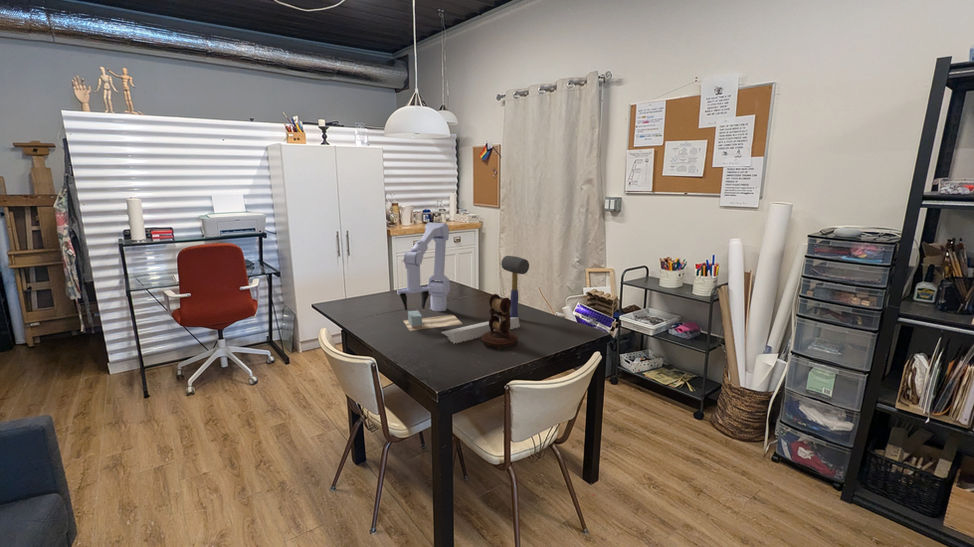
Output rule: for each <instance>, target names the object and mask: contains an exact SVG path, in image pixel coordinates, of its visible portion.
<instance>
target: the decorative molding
mask: <svg viewBox="0 0 974 547" xmlns="http://www.w3.org/2000/svg"><path fill="white" fill-rule="evenodd" d="M499 320H500V318H499ZM520 326H521V325H520V320H519V316H518V317H511V318H510V329H511V330H514V328H515V329H519V328H520ZM518 327H519V328H518ZM494 330H495V329H494ZM494 330H493V331H494ZM489 331H491V330H490V327H489V320H488V321H484V322H478V323H475V324H470V325H467V326H466V325H465V326H462V327H458V328H453V329H448V330H444V331H441V334H443V335H444V336H446V337H444V339H445V338H446V340H449V341H450V342H451V343H452V342H453V343H452V344H454V345H455V343H456V344H459V343H463V341H464V342H468V341H471V340H475V339H477V338H478V337H479V338H481V336H482V335H483V334H485V333H486V332H489ZM474 338H475V339H474ZM479 338H478V339H479ZM467 340H468V341H467Z"/></svg>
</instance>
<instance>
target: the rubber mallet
mask: <svg viewBox="0 0 974 547" xmlns="http://www.w3.org/2000/svg"><path fill="white" fill-rule="evenodd" d="M500 263H501V268H502V269H503V270H505V271H507V272H510V273H511V275H512V276H511V290H510V298H509V299H510V301H511V306H510V316H511V317H518V318H519V311H518V310H519V308H518V307H519V306H518V305H519V290H518V280H519V279H518V278H519V277H518V274H520V275H525V274H526V273H528V271H529V269H530V262H529V261H528V260H527V259H526V258H522V257H521V256H520V257H519V256H513V255H506V256H504V257H503V258H502V259H501V262H500Z"/></svg>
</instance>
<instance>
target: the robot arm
mask: <svg viewBox="0 0 974 547" xmlns="http://www.w3.org/2000/svg"><path fill="white" fill-rule="evenodd" d="M449 235H450V228H449V225H448V224H447V223H446V222H444V223H443V222H430V221H428V222H427V223H426V225H425V226H424V233H423V235H422V237H421V239H420V240H417V241H416V242H415V244H414V245H413V246H412V248H411V249H410V251H407V252H405V253H404V255H403V256H404V257H403V264H404V266H405V267H404V268H405V269H406V285H407V287H405V288H399V289H397V290H396V294H397V295H398V296H399V297H400V299H401V301H402V304H403V306H404V310H405V311H407V312H408V304H407V302H408V296H407V295H410V294H417V293H418V294H421V309H424V310H425V309H426V308H425V307H426V304H427V300H428V298H429V296H430V308H428V309H429V310H432V311H434V312H444V311H447V295H449V293H450V290H451V285H450V278H449V277H448V276H446V275H445V266H446V265H445V264H446V263H445V262H446V249H447V248H446V246H447V245H446V244H447V241H449ZM432 240H433V242H435V245H434V263H433V275H431V276H430V277H429V278H428V283H427V286H421V285H422V284H421V265H422V263H423V259H424V254H425V253H426V252H427V250H428V249H429V248H428V245H429V243H430V242H431V241H432Z"/></svg>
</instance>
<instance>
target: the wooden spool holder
mask: <svg viewBox="0 0 974 547" xmlns="http://www.w3.org/2000/svg"><path fill="white" fill-rule="evenodd" d="M510 299H511V298H509V297H504V298H503V299H501V297H500V295H499V294H497V293H493V294H492V295H491V296H490V298H489V301H488V303H489V306H490V308H489V310H488V311H489V314H490V317H489V318H490V319H489V320H488V321H489V327H490V330H491V331H489V332H486V333H485V334H483V335H482V336H481V337H480V338H481V339H480V340H481V343H483V344H484V345H487V346H491V347H496V350H499V349H500V348H501V347H510V346H513V345H516V344H518V341H519V340H518V338H519V337H518V336H517V334H516V333H513V332H512V331H511V330H510V318H511V316H510V313H511V300H510ZM499 319H500V320H499ZM494 329H495V330H494ZM493 330H494V331H493Z"/></svg>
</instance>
